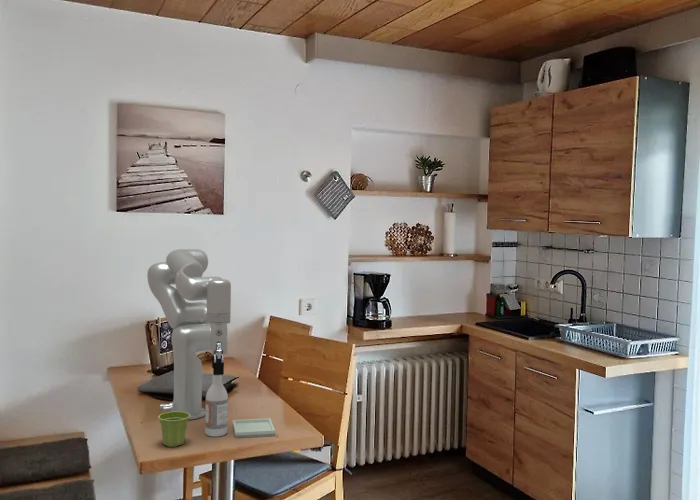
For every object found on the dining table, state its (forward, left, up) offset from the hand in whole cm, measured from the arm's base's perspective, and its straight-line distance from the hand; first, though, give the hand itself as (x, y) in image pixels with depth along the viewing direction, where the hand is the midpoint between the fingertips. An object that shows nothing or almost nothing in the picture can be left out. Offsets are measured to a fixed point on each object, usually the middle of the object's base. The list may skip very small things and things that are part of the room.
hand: (217, 371), depth 206 cm
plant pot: (-13, -7, -21) cm, 25 cm away
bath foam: (0, 0, -21) cm, 21 cm away
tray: (+12, +1, -20) cm, 24 cm away
